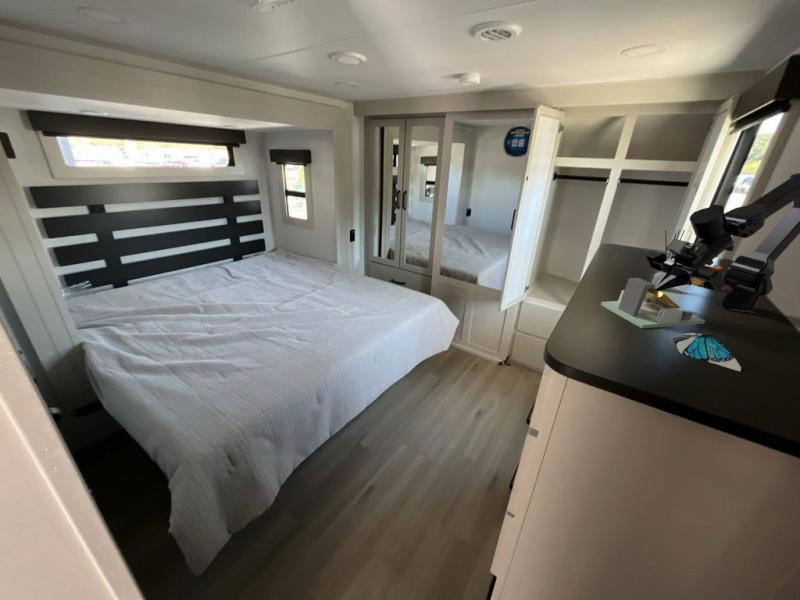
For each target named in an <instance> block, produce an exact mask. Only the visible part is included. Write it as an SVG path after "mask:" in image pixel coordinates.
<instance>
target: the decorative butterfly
mask: <svg viewBox="0 0 800 600" xmlns="http://www.w3.org/2000/svg"><path fill="white" fill-rule="evenodd" d="M723 333H726V332H725V331H724V332H723ZM718 334H721V332H719V333H718V332H717V335H718ZM683 335H685V336H676V337H673V338H672V341H673V342H674V343H676V348H677V351H678V352H679V353H680V354H681V355H683V354H684V355H683V356H687V355H689V356H688V357H690V356H691V357H690V358H693V357H694V359H698V360H700V361H705V360H706V361H707V362H708V363H710V364H715V365H718V366H721V367H723V368H724V367H725V368H727V369H730V370H734V371H737V372H741V370H742V367H741V365H740V364H739V362H738V361H737V359H736V358H735V357H734V356H733V355H732V353H731V352H730V351H729V350H728V349H726V348H725V346H724V344H723V343H722V341H720V340H718V339H716V338H714V337H713V336H714V333H705V332H704V333H703V332H690V333H683ZM720 337H722V338H723V336H721V335H720ZM724 338H727V337H725V336H724ZM729 339H730V340H732V338H730V337H729Z"/></svg>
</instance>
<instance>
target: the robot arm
mask: <svg viewBox="0 0 800 600" xmlns="http://www.w3.org/2000/svg"><path fill="white" fill-rule="evenodd" d="M792 202H793V206H792V207H790V209H789V210H788V211H787V213H786V214H785V215H784V216H783V217H782V218H781V220H780V221H779V222H778V223H777V224H776V225H775V227H773V229H772V230H771V231H770V233H768V235H767V236H766V237H765V238H764V239H763V240H762V241H761V243H760V244H759V245H758V246H757V247H756V248H755V250H754V251H753V252H751V253H750V254H748V255H739V256H738V257H736V258H735V260H734V261H733V263H731V265H729V266H728V268H727V269H726V270H725V272H724V276H723V275H722V274H723V273H722V272H721V271H720V270H716V269H713V268H710V267H707V266H712V265H713V264H714V259H716V257H718V256H719V255H721V254H722V253H723V252H724V251H727V252H733V250H734V249H735V245H734V244H735V240H733V238H732V237H737V238H742V239H747V238H750V237H752V236H753V235H754V234H756V233H757V232H758V231H760V230H761V229H762V228H763V227H764V225H765V221H766V219H768V218H769V217H771V216H772V215H774V214H775V213H777V212H778V211H780V210H781V209H783V208H784V207H786V206H788V205H789V204H791V203H792ZM689 222H690V224H691V227H692V229H693V231H694V236H695V237H697V238H698V239H699V240H697V241H696V242H694V243H692V242H689V241H686V240H682V239H681V240H680V239H678V238H677V239H676V238H675V239H674V238H673V239H672V240H671V242H670V243H669V244H668V245H667V248H666V247H665V251H666V250H667V251H669V253H670V252H671V254H670V258H669V259H668V256H667V257H666V252H665V253H664V252H661V251H658V250H649V251H648V252H647V253H645V254H644V256H643V257H644V258H645V260H646V262H647V264H648V266H649V267H650V268H651V269H653V270H655V271H658V272H661V271H662V272H661V275H660V277H659V279H658V280H657V282H656V284H655V287H654V288H652V289H655V290H657V291H659V292H662V291H665V290H669V289H673V288H677V287H682V286H686V285H688V286H693V285H692V281H694V280H696V279H698V278H699V279H702V280H704V281H706V282H705V283H704V287H705V288H704V289H707V290H709V291H712V292H716V293H717V292H719V291H718V290H720V289H721V288H722V287H723V286H724V285H728V288H727V290H724V291H722V294H721V295H720V297H719V299H718V300H717V303H718V304H719V306H721V307H722V306H723V307H724V308H725V309H724V308H723V307H722V308H723V309H724V310H726V309H738V310H745V311H746V310H750V311H751V310H752V311H753V309H754V307H755V305H756V304H757V301H758V300H759V298H760V296H762V297H766V296H768V295H769V294H770V293H771V291H773V289H774V287H773V283H772V282H773V281H772V279H771V278H772V276H773V275H774V273H775V261H777V259H778V258H779V257H780V255H782V254H783V252H784V251H785V250H786V249H787V248H788V247H789V246H790V245H791V243H793V242H794V240H795V239H796V238H797V237H798V236H799V235H800V172H797V173H793V174H791V175H790V176H789V177H788V178H787V179H786V180H785V181H784V182H782V183H780V184H779V185H777V186H776V187H774V188H773V189H772V190H770V191H768V192H767V193H765V194H764V195H762V196H761V197H759V198H758V199H756V200H754V201H753V202H751V203H750V204H747V205H743V206H737V207H734V208H733V209H731V210H729V211H726V212H725V208H724V205H721V204H713V205H711V206H710V207H706V208H701V209H699V210H696V211H694V212H693V213H691V215H690V216H689ZM672 253H673V254H672ZM671 257H672V258H673V259H672V260H671ZM705 265H707V266H705ZM723 277H724V280H723ZM750 313H752V312H750ZM753 313H754V314H755V311H753Z"/></svg>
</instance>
